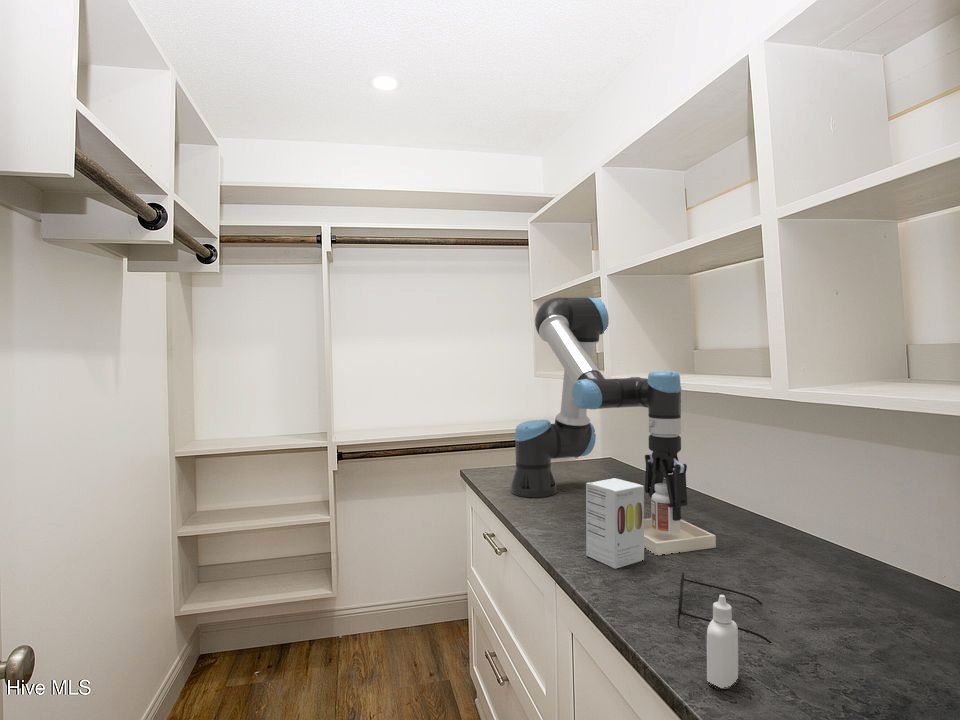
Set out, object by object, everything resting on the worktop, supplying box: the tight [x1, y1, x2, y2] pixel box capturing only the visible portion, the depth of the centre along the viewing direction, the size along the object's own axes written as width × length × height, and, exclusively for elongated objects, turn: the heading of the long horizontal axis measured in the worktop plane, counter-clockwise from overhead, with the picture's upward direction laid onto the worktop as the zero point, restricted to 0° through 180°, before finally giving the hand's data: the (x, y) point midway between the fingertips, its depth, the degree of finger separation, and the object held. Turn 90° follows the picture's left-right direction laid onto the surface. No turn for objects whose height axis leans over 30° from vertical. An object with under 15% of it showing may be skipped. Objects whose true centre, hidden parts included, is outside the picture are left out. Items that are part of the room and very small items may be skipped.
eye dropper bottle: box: [706, 594, 739, 688], centre depth 75 cm, size 4×6×12 cm
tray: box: [644, 517, 717, 556], centre depth 130 cm, size 16×16×3 cm
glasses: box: [677, 572, 773, 644], centre depth 93 cm, size 14×15×5 cm
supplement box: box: [585, 477, 645, 570], centre depth 119 cm, size 10×9×17 cm
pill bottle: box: [652, 482, 670, 534], centre depth 130 cm, size 6×6×11 cm
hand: (665, 528), depth 130 cm, fingers closed on pill bottle, 6 cm apart
